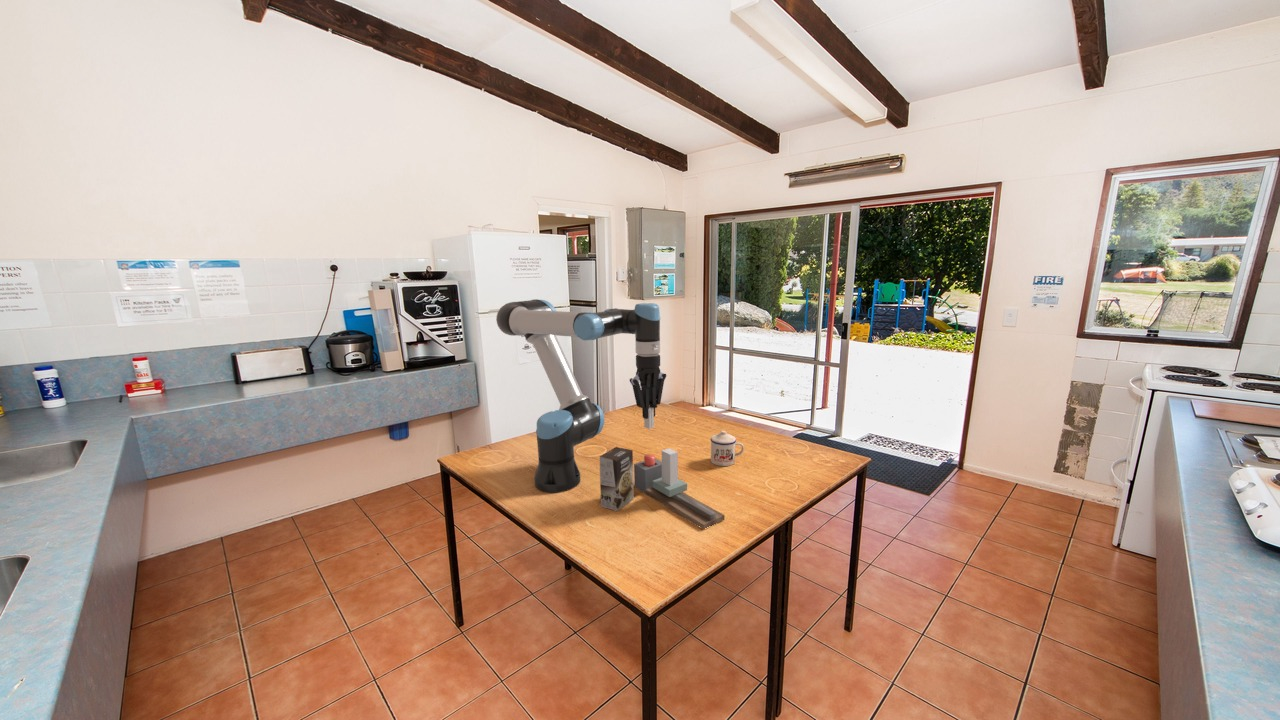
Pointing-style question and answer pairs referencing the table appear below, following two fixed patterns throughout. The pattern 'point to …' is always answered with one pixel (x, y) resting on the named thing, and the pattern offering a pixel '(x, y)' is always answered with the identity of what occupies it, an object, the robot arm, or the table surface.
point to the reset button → (649, 460)
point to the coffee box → (616, 478)
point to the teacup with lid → (724, 449)
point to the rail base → (688, 508)
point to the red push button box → (646, 475)
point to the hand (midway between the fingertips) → (649, 427)
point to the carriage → (669, 475)
